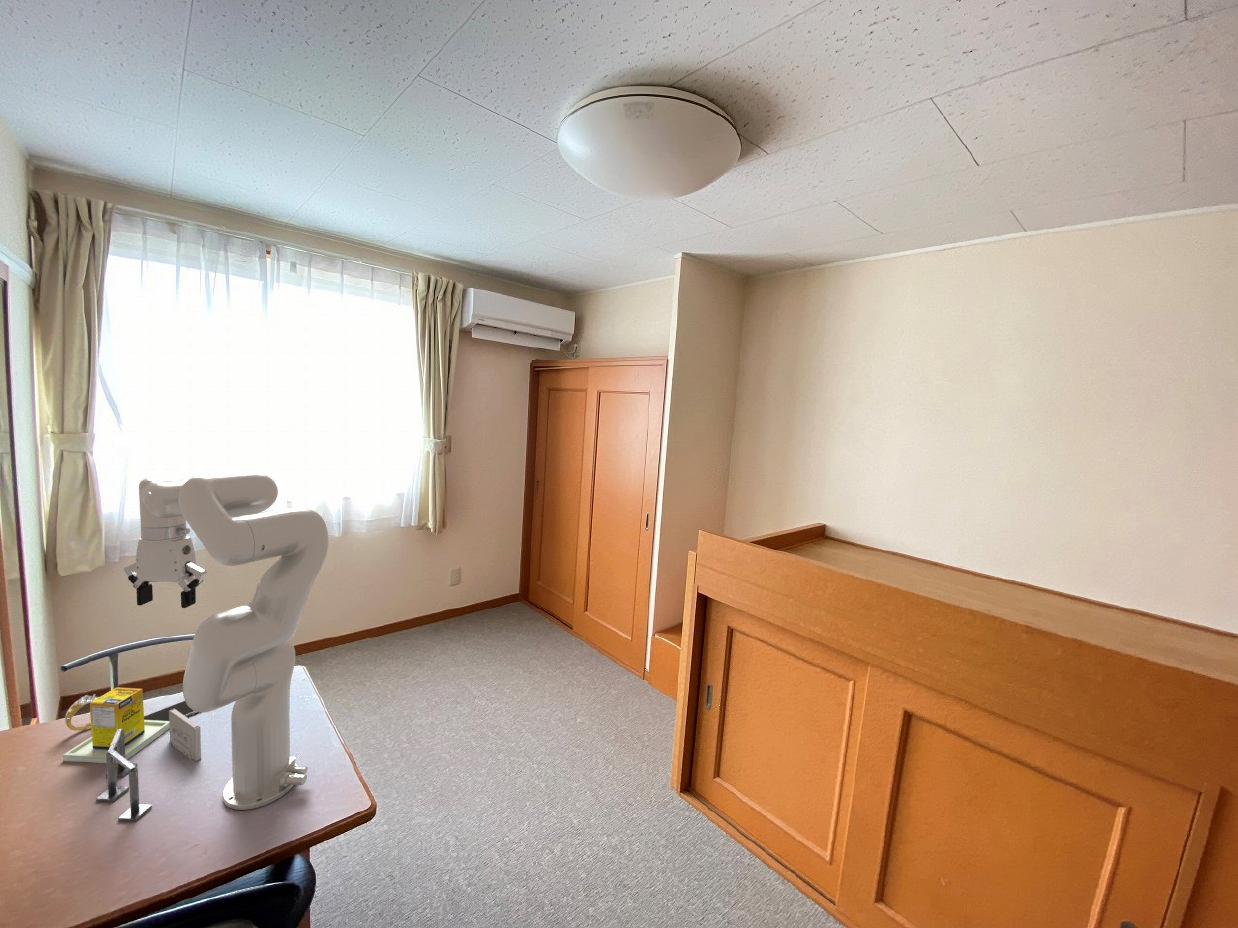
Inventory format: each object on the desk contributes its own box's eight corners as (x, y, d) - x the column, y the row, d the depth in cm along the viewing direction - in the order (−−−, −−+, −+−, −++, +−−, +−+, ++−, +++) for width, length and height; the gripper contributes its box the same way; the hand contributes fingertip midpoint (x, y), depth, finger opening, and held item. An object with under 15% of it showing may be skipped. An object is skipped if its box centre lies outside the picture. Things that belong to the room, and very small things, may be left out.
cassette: (204, 757, 107) (203, 725, 106) (193, 762, 106) (192, 730, 105) (177, 737, 113) (176, 706, 112) (166, 742, 111) (165, 710, 110)
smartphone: (121, 724, 115) (206, 691, 128) (121, 728, 115) (206, 695, 128) (131, 737, 111) (218, 702, 124) (132, 741, 111) (218, 706, 124)
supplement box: (145, 732, 112) (143, 687, 111) (119, 750, 106) (117, 703, 105) (119, 731, 112) (116, 686, 111) (91, 749, 106) (88, 702, 105)
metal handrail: (154, 813, 93) (152, 767, 92) (104, 835, 88) (101, 787, 86) (135, 760, 105) (133, 718, 104) (90, 777, 100) (87, 733, 99)
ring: (68, 739, 109) (65, 706, 108) (64, 733, 111) (62, 700, 110) (111, 723, 115) (110, 691, 114) (107, 718, 117) (106, 686, 116)
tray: (171, 726, 116) (171, 721, 116) (121, 763, 104) (121, 757, 104) (119, 723, 115) (119, 718, 115) (63, 760, 103) (62, 754, 103)
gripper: (216, 530, 114) (218, 600, 116) (140, 525, 113) (143, 595, 115) (189, 538, 107) (191, 613, 109) (107, 533, 106) (111, 608, 108)
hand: (166, 604), depth 112 cm, fingers open, 9 cm apart
